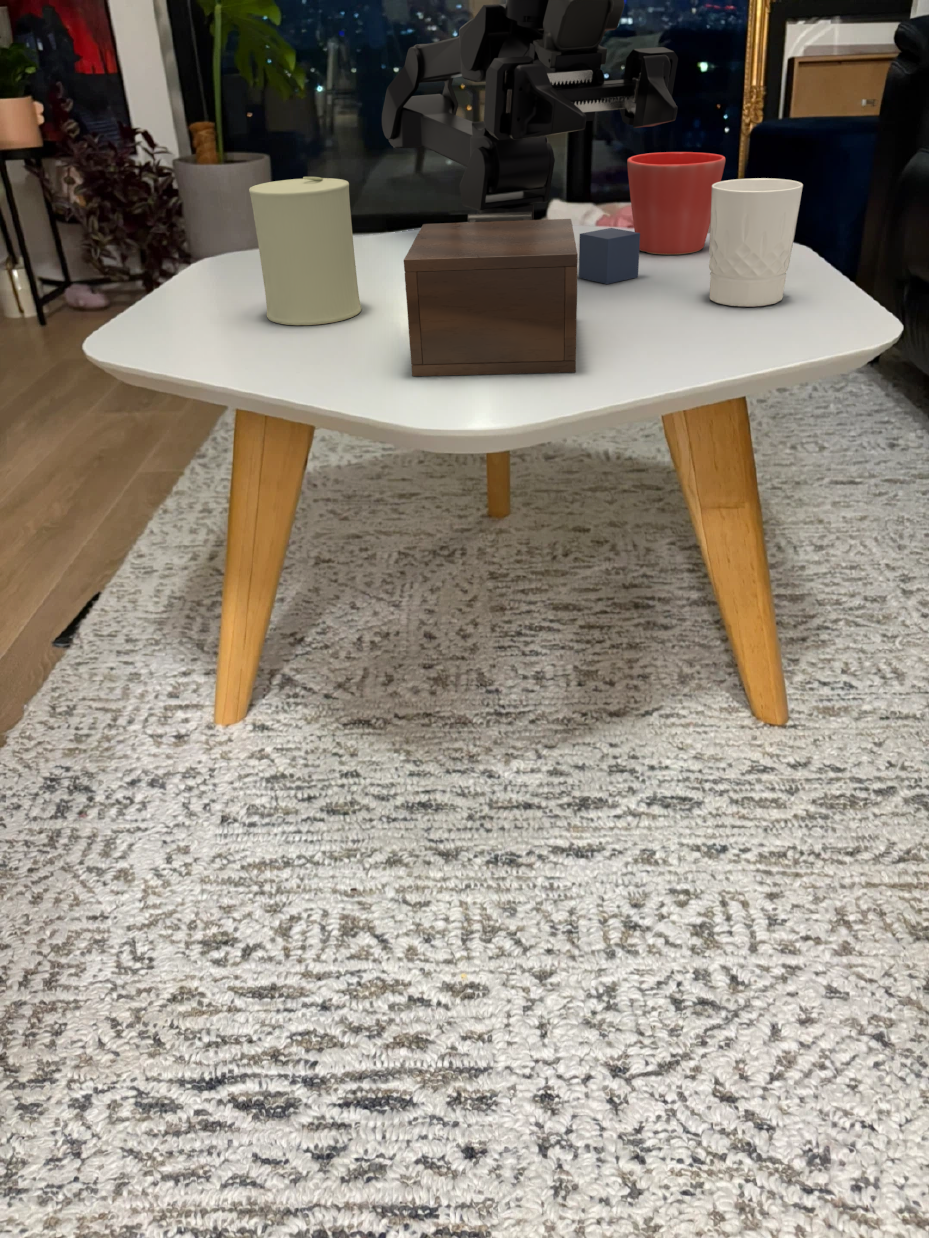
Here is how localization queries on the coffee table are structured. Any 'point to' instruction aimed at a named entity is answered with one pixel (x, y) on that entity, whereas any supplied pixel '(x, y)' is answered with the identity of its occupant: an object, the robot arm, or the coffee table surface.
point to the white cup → (751, 239)
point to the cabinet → (492, 298)
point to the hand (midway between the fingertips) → (630, 118)
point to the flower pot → (673, 199)
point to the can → (306, 250)
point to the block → (609, 255)
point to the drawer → (500, 217)
